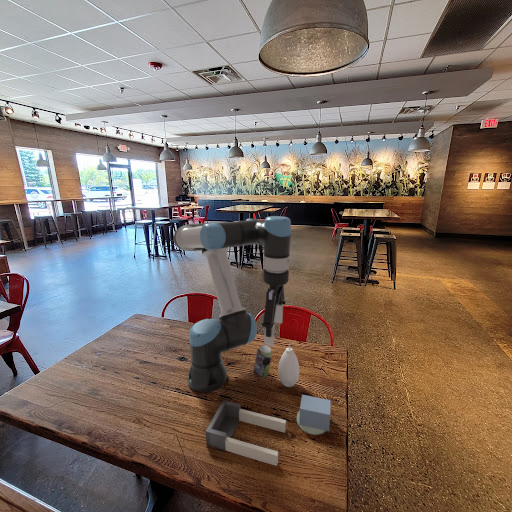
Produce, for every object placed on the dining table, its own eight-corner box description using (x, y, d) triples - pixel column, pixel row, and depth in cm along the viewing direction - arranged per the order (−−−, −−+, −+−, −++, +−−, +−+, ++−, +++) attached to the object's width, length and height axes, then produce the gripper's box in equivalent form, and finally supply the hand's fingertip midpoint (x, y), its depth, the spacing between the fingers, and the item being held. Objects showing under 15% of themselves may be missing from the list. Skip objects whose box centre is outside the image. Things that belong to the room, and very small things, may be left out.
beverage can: (253, 369, 111) (252, 343, 108) (270, 368, 111) (270, 342, 108) (254, 380, 105) (254, 353, 102) (273, 379, 105) (273, 352, 102)
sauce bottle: (301, 381, 104) (302, 339, 99) (295, 395, 97) (296, 350, 93) (282, 375, 107) (282, 335, 103) (275, 388, 100) (275, 345, 96)
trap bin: (206, 445, 78) (205, 431, 77) (223, 412, 89) (223, 400, 88) (225, 450, 76) (224, 436, 75) (240, 417, 87) (240, 404, 86)
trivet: (294, 430, 83) (294, 428, 82) (299, 406, 92) (299, 404, 92) (327, 438, 80) (327, 436, 79) (329, 412, 89) (329, 410, 89)
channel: (225, 450, 76) (225, 440, 75) (240, 417, 87) (240, 408, 86) (276, 466, 72) (277, 455, 71) (285, 429, 83) (286, 420, 82)
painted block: (299, 424, 84) (299, 408, 82) (301, 409, 89) (302, 394, 88) (329, 431, 81) (330, 415, 80) (329, 415, 87) (330, 400, 85)
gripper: (280, 285, 67) (277, 358, 73) (294, 259, 90) (291, 316, 96) (251, 282, 69) (251, 353, 75) (272, 257, 92) (271, 313, 98)
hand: (273, 332), depth 85 cm, fingers open, 13 cm apart
